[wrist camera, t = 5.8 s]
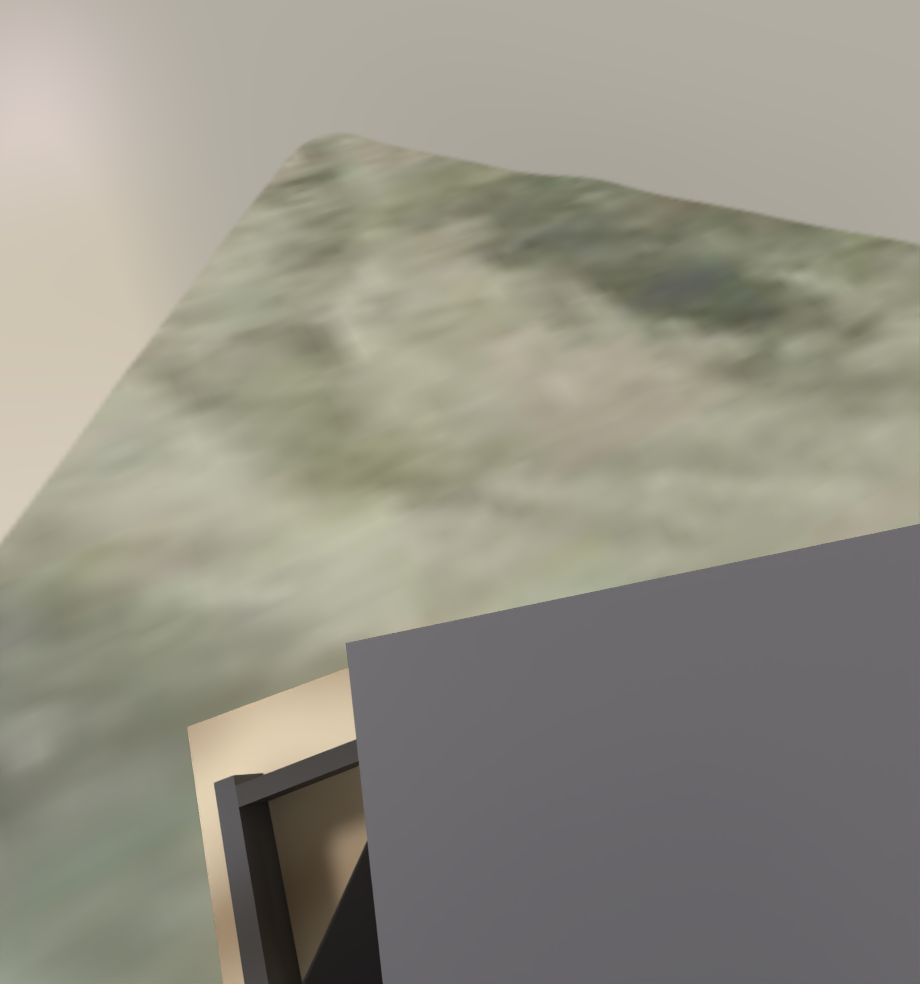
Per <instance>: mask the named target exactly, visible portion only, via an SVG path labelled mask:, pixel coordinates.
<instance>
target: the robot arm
mask: <svg viewBox="0 0 920 984" xmlns="http://www.w3.org/2000/svg"><path fill="white" fill-rule="evenodd" d="M302 984H383V980H382V971H381V962H380V953H379V943H378V934H377V925H376V916H375V907H374V897H373V888H372V879H371V870H370V861H369V852H368V842H366V844H365V846H364V848H363V850H362V853H361V855H360V857H359V859H358V861H357V863H356V866H355V868H354V870H353V872H352V874H351V877H350V879H349V881H348V883H347V885H346V888H345V890H344V892H343V894H342V896H341V898H340V901H339V903H338V905H337V907H336V909H335V912H334V914H333V916H332V918H331V920H330V922H329V925H328V927H327V929H326V931H325V933H324V936H323V938H322V940H321V942H320V944H319V947H318V949H317V951H316V953H315V955H314V957H313V960H312V962H311V964H310V966H309V968H308V971H307V973H306V975H305V977H304V979H303V982H302Z"/></svg>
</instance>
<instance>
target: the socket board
mask: <svg viewBox="0 0 920 984" xmlns="http://www.w3.org/2000/svg"><path fill="white" fill-rule="evenodd" d="M502 611H503V610H502ZM187 729H188V736H189V743H190V750H191V757H192V765H193V772H194V779H195V786H196V793H197V800H198V807H199V814H200V821H201V829H202V836H203V843H204V850H205V857H206V864H207V871H208V878H209V885H210V892H211V900H212V907H213V914H214V921H215V928H216V935H217V942H218V949H219V956H220V964H221V971H222V978H223V984H302V982H303V979H304V977H305V975H306V973H307V971H308V968H309V966H310V964H311V962H312V960H313V957H314V955H315V953H316V951H317V949H318V947H319V944H320V942H321V940H322V938H323V936H324V933H325V931H326V929H327V927H328V925H329V922H330V920H331V918H332V916H333V914H334V912H335V909H336V907H337V905H338V903H339V901H340V898H341V896H342V894H343V892H344V890H345V888H346V885H347V883H348V881H349V879H350V877H351V874H352V872H353V870H354V868H355V866H356V863H357V861H358V859H359V857H360V855H361V853H362V850H363V848H364V846H365V844H366V842H367V833H366V824H365V815H364V806H363V796H362V787H361V778H360V769H359V760H358V751H357V741H356V732H355V723H354V714H353V705H352V695H351V686H350V677H349V668H346V669H343V670H340V671H338V672H335V673H332V674H329V675H327V676H324V677H321V678H319V679H316V680H313V681H311V682H308V683H305V684H302V685H300V686H297V687H294V688H292V689H289V690H286V691H284V692H281V693H278V694H275V695H273V696H270V697H267V698H265V699H262V700H259V701H257V702H254V703H251V704H248V705H246V706H243V707H240V708H238V709H235V710H232V711H230V712H227V713H224V714H221V715H219V716H216V717H213V718H211V719H208V720H205V721H202V722H200V723H197V724H194V725H192V726H189V727H187Z"/></svg>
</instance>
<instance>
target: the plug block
mask: <svg viewBox="0 0 920 984" xmlns="http://www.w3.org/2000/svg"><path fill="white" fill-rule="evenodd" d="M346 650H347V659H348V668H349V677H350V686H351V695H352V705H353V714H354V723H355V732H356V741H357V751H358V760H359V769H360V778H361V787H362V796H363V806H364V815H365V824H366V833H367V842H368V852H369V861H370V870H371V879H372V888H373V897H374V907H375V916H376V925H377V934H378V943H379V953H380V962H381V971H382V980H383V984H920V524H918V525H913V526H908V527H903V528H898V529H894V530H889V531H884V532H879V533H874V534H870V535H865V536H860V537H855V538H850V539H845V540H841V541H836V542H831V543H826V544H821V545H817V546H812V547H807V548H802V549H797V550H792V551H788V552H783V553H778V554H773V555H768V556H764V557H759V558H754V559H749V560H744V561H739V562H735V563H730V564H725V565H720V566H715V567H711V568H706V569H701V570H696V571H691V572H686V573H682V574H677V575H672V576H667V577H662V578H658V579H653V580H648V581H643V582H638V583H633V584H629V585H624V586H619V587H614V588H609V589H605V590H600V591H595V592H590V593H585V594H580V595H576V596H571V597H566V598H561V599H556V600H552V601H547V602H542V603H537V604H532V605H527V606H523V607H518V608H513V609H508V610H503V611H498V612H494V613H489V614H484V615H479V616H474V617H470V618H465V619H460V620H455V621H450V622H445V623H441V624H436V625H431V626H426V627H421V628H417V629H412V630H407V631H402V632H397V633H392V634H388V635H383V636H378V637H373V638H368V639H364V640H359V641H354V642H349V643H346Z"/></svg>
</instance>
